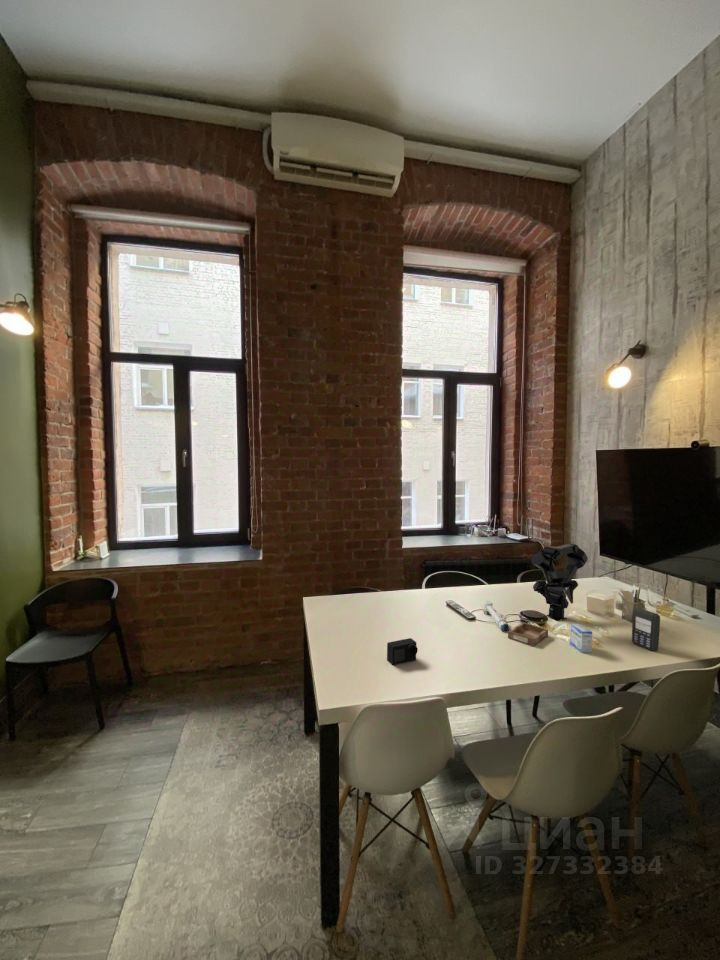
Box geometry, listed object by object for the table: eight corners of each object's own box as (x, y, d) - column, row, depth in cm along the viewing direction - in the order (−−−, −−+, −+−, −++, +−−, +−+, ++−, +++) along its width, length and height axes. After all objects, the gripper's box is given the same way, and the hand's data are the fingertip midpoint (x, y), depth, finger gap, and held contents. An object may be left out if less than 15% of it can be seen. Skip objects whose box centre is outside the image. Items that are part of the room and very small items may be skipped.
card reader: (629, 643, 170) (631, 608, 169) (636, 641, 172) (637, 606, 171) (653, 652, 162) (654, 615, 161) (659, 650, 163) (660, 614, 163)
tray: (523, 628, 183) (523, 622, 183) (547, 636, 175) (548, 629, 175) (507, 638, 173) (507, 631, 172) (533, 646, 165) (533, 639, 165)
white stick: (499, 623, 179) (481, 597, 204) (498, 637, 180) (480, 609, 205) (511, 623, 179) (491, 597, 204) (510, 637, 180) (490, 609, 205)
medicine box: (569, 644, 168) (570, 623, 168) (579, 644, 168) (580, 623, 168) (581, 653, 160) (582, 631, 160) (591, 652, 160) (592, 631, 160)
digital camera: (393, 667, 146) (394, 648, 146) (386, 660, 151) (387, 642, 151) (418, 661, 151) (418, 643, 151) (410, 655, 156) (410, 637, 155)
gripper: (536, 562, 182) (549, 595, 172) (576, 562, 183) (591, 594, 173) (528, 575, 190) (539, 606, 180) (566, 575, 192) (579, 606, 181)
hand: (562, 603), depth 178 cm, fingers open, 9 cm apart
